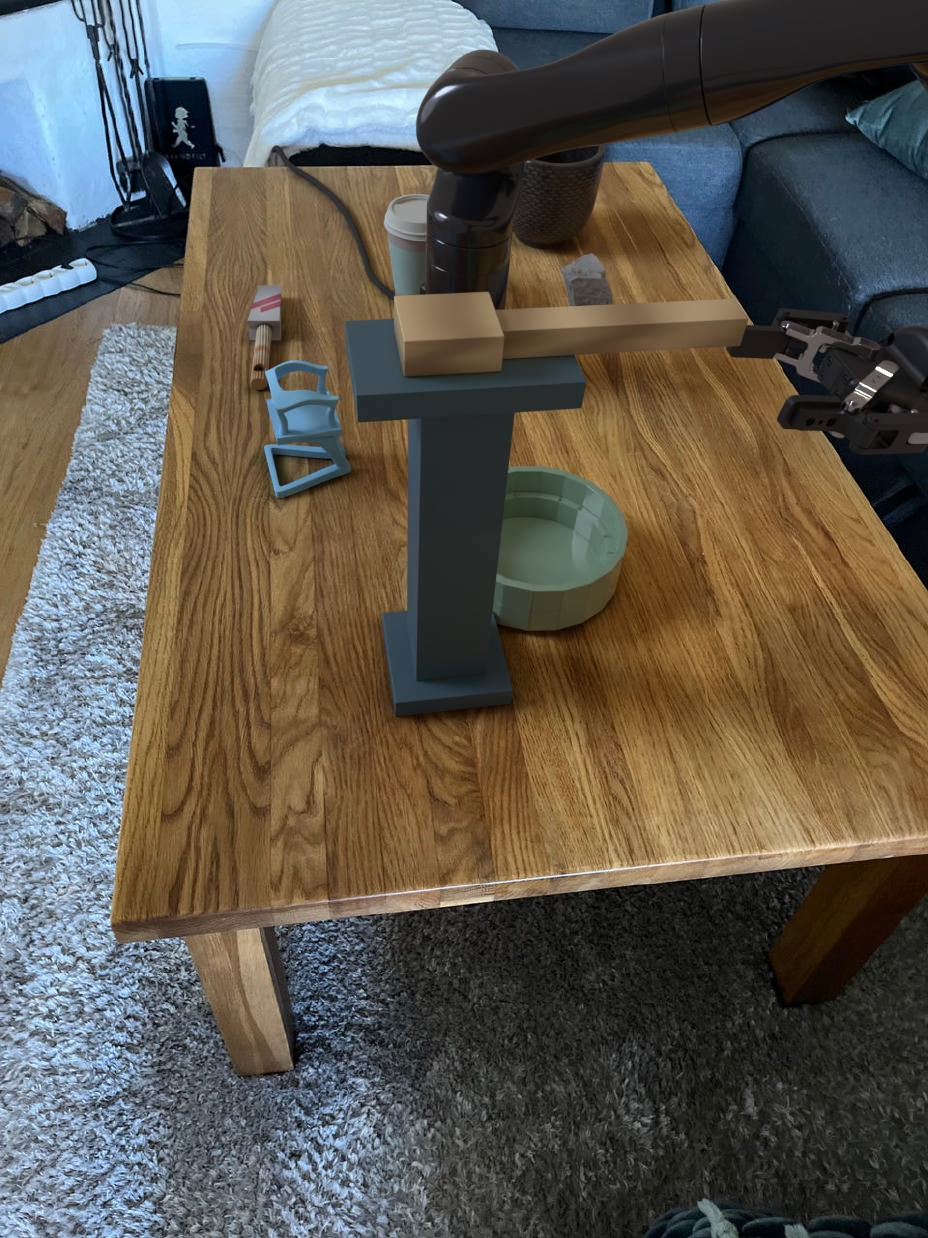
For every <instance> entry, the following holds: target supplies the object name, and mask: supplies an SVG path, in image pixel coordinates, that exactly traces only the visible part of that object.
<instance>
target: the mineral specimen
mask: <svg viewBox="0 0 928 1238" xmlns="http://www.w3.org/2000/svg"><path fill="white" fill-rule="evenodd" d="M560 272H561V274H562V276H563V281H564V284H565V288H566V295H567V299H568V303H569V306H589V305H611V304H615V303H614V299H613V298H614V297H613V292H612V287H611V285H610V283H609V280H608V279H607V277H606V275H607V271H606V269H605V267H604V265H603V264H602V263H601V261H600V260H599V258H598V257H597V255H595V254H594V252H590V253H588V254H584V255H581V256H579V257H578V258H577V259H575V260H573V261H572V262H571V263H569V264H567V265H564V266H563V267H561V268H560Z"/></svg>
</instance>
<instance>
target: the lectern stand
mask: <svg viewBox="0 0 928 1238" xmlns="http://www.w3.org/2000/svg"><path fill="white" fill-rule="evenodd" d="M344 332H345V333H344V335H345V350H346V355H347V361H348V368H349V375H350V383H351V387H352V388H351V389H352V395H353V402H354V407H355V408H354V409H355V415H356V420H357V423H359V424H360V423H375V422H390V421H392V422H393V421H405V420H407V542H406V543H407V545H406V546H407V547H406V548H407V549H406V551H407V556H406V557H407V559H406V561H407V562H406V564H407V565H406V566H407V567H406V591H407V592H406V610H399V611H389V612H382V613H381V628H382V629H381V630H382V634H383V635H382V636H383V643H384V649H385V655H386V661H387V668H388V669H387V670H388V676H389V682H390V689H391V696H392V703H393V710H394V716H395V717H404V716H413V715H423V714H429V713H430V714H431V713H441V712H446V711H447V712H448V711H449V712H450V711H456V710H457V711H458V710H467V709H476V708H484V707H495V706H503V705H511V704H512V699H513V693H514V689H513V683H512V680H511V676H510V671H509V668H508V664H507V660H506V656H505V652H504V648H503V644H502V640H501V636H500V631H499V628H498V623H496V620H495V616H494V612H493V603H494V594H495V585H496V576H497V567H498V558H499V549H500V541H501V532H502V523H503V514H504V505H505V496H506V487H507V478H508V469H509V467H510V460H511V452H512V451H511V450H512V441H513V433H514V432H513V431H514V425H515V424H514V422H515V414H516V413H530V412H532V413H533V412H545V411H546V412H547V411H563V410H564V411H565V410H578V409H582V408H583V402H584V397H585V391H586V386H587V381H586V377H584V373H583V371H582V369H581V366H580V364H579V361H578V359H577V356H576V355H567V356H549V357H531V358H513V359H502V368H501V371H499V372H482V373H464V374H447V375H429V376H412V377H404V374H403V369H402V365H401V360H400V355H399V351H398V346H397V341H396V337H395V332H394V318H380V319H379V318H378V319H377V318H376V319H357V320H345V321H344Z"/></svg>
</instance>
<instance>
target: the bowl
mask: <svg viewBox="0 0 928 1238" xmlns="http://www.w3.org/2000/svg"><path fill="white" fill-rule="evenodd" d="M628 540H629V530H628V526H627V522H626V518H625V515H624V512H623V511H622V509H620V507H619V506H618V505H617V503H616V502H615V500H614V499H613V497H612V496H611V495H610V494H608V493H607V492H605V491H604V490H603V489H602V488H600V487H599V486H598V485H596V484H595V483H594V482H592V481H591V480H589V479H586V478H584V477H582V476H580V475H577V474H575V473H573V472H570V471H568V470H564V469H560V468H559V469H558V468H553V467H549V466H545V465H513V466H509V469H508V478H507V487H506V496H505V505H504V514H503V523H502V532H501V541H500V549H499V558H498V567H497V576H496V585H495V594H494V603H493V612H494V616H495V620H496V624H497V625H499V626H505V627H508V628H513V629H518V630H522V631H526V632H527V631H528V632H529V631H530V632H532V631H533V632H537V631H538V632H539V631H541V632H543V631H559V630H562V629H565V628H566V629H567V628H569V627H572V626H577V625H580V624H583V623H585V622H586V621H587V620H589V619H591V618H592V617H594V616H596V615H597V614H598V613H600V612H601V611H603V610H604V608H605V607H606V605H607V604H608V602H609V601H610V600H611V598H612V597H613V596H614V595H615V593H616V589H617V585H618V582H619V577H620V575H621V569H622V566H623V562H624V558H625V554H626V549H627V545H628Z"/></svg>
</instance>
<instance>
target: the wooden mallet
mask: <svg viewBox="0 0 928 1238" xmlns="http://www.w3.org/2000/svg"><path fill="white" fill-rule="evenodd" d="M393 319H394V332H395V337H396V341H397V346H398V351H399V355H400V360H401V365H402V369H403V374H404V377H412V376H429V375H447V374H464V373H482V372H499V371H501V368H502V359H513V358H531V357H549V356H567V355H575V356H583V355H584V356H585V355H601V354H619V353H620V354H621V353H636V352H637V353H638V352H658V351H674V350H675V351H677V350H688V349H689V350H692V349H693V350H694V349H709V348H711V349H712V348H726V347H730V346H740V344H741V341H742V338H743V335H744V332H745V328H746V325H748V322H749V317H748V316H747V314H746V313H745V311H744V309H743V308H742V307H741V304H740V303H739V302H738V301H737V299H736V298H720V299H719V298H718V299H717V298H715V299H699V300H677V301H656V302H654V301H653V302H633V303H614V304H611V305H589V306H570V305H569V306H549V307H531V308H530V307H527V308H509V309H507V308H506V309H505V310H495V308H494V305H493V302H492V299H491V296H490V293H489V292H474V293H452V294H429V295H407V296H394V300H393Z"/></svg>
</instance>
